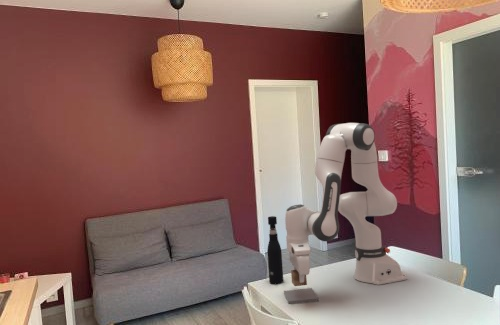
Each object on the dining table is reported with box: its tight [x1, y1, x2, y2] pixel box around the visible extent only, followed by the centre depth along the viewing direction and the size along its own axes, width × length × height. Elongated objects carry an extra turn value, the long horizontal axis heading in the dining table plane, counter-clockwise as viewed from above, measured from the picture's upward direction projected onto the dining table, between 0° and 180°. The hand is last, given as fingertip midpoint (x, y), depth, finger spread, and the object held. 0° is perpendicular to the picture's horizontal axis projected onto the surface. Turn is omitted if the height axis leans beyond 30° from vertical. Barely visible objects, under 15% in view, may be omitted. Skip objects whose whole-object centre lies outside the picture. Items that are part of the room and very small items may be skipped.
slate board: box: [283, 287, 320, 305], centre depth 154 cm, size 12×11×1 cm
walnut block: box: [290, 269, 308, 287], centre depth 153 cm, size 5×5×5 cm
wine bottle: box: [267, 215, 284, 285], centre depth 173 cm, size 6×6×30 cm
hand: (299, 279), depth 153 cm, fingers closed on walnut block, 5 cm apart
